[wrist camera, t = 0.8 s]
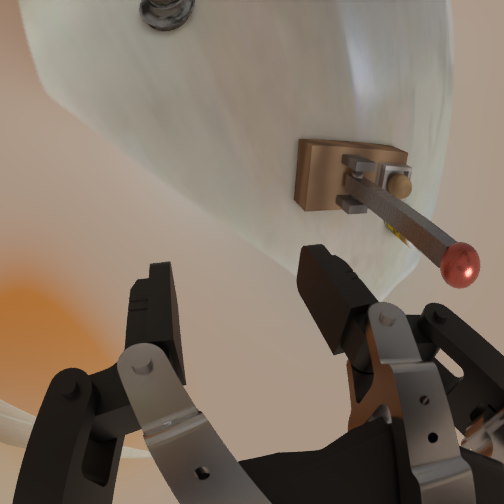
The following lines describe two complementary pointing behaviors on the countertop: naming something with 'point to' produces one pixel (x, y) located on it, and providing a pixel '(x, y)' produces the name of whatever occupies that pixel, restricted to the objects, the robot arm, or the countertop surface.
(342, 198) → the nutcracker base
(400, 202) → the lever
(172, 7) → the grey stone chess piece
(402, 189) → the nut
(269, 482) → the robot arm
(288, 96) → the countertop surface
